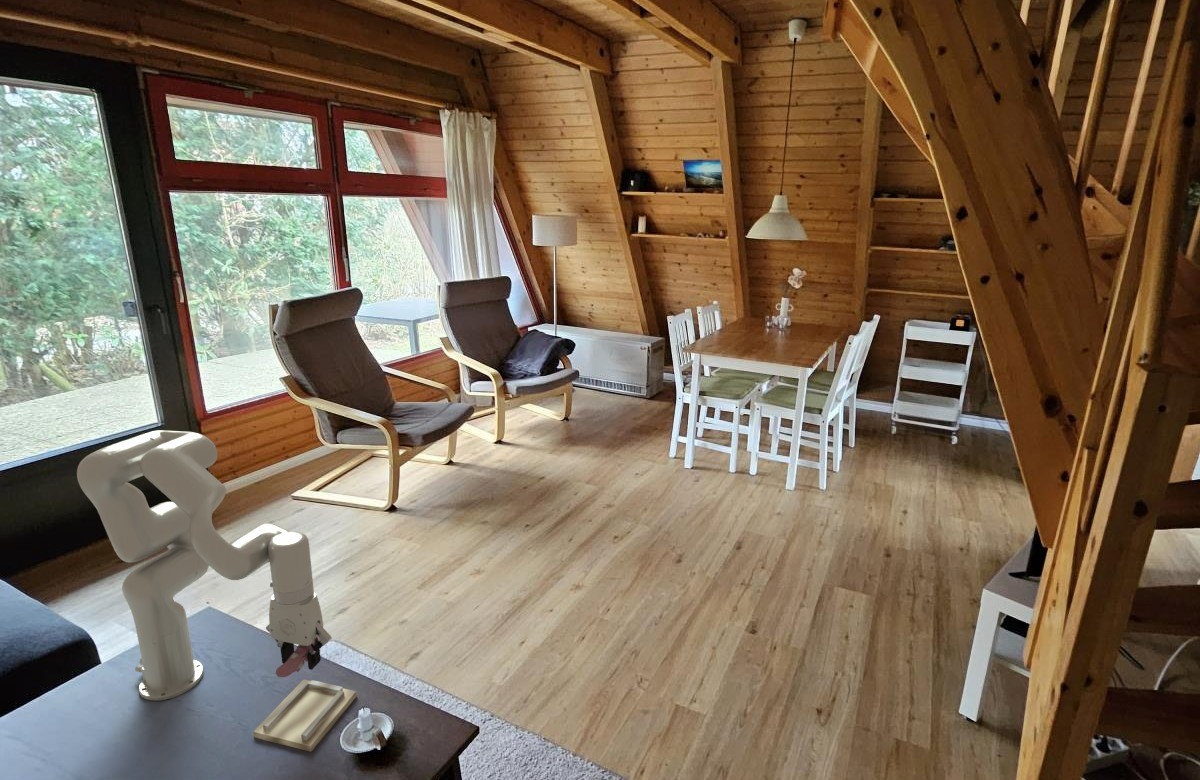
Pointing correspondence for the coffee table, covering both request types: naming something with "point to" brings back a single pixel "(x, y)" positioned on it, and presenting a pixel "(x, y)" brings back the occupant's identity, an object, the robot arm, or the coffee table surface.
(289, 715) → the dock
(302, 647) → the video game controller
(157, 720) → the coffee table surface
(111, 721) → the coffee table surface
